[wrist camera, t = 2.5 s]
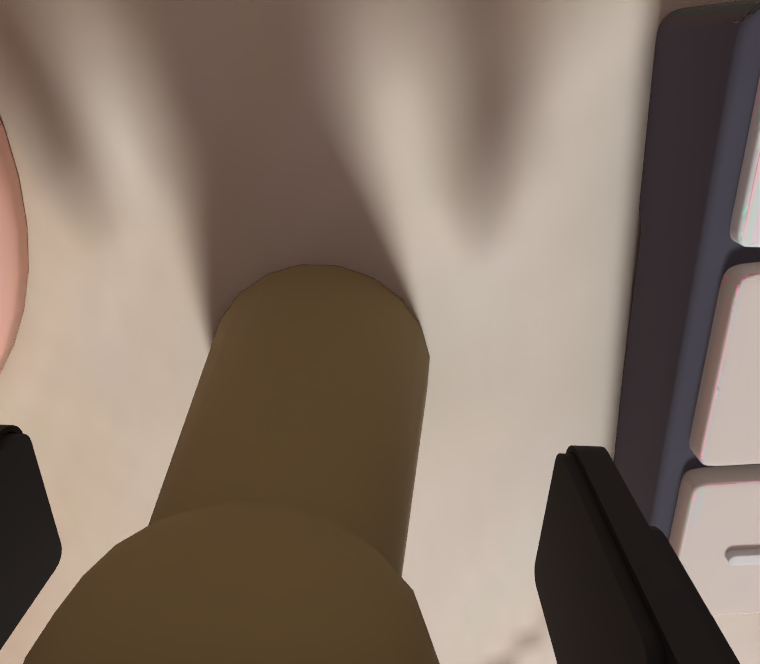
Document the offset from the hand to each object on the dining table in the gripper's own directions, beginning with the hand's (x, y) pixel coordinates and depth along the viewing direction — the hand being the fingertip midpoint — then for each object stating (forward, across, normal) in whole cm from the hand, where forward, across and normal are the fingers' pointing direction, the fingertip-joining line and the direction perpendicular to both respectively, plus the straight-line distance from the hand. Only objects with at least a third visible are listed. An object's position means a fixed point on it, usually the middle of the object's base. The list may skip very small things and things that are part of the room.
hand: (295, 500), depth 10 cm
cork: (+6, 0, 0) cm, 6 cm away
